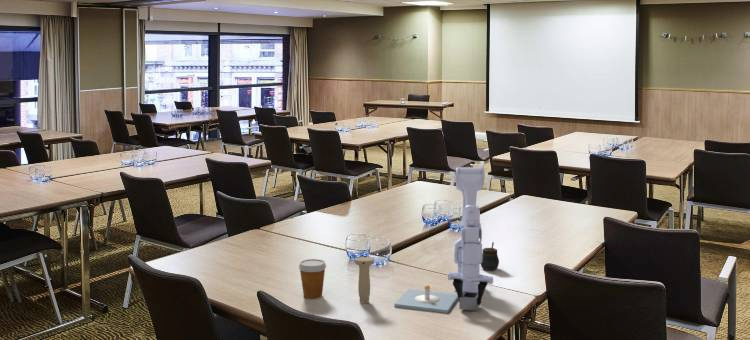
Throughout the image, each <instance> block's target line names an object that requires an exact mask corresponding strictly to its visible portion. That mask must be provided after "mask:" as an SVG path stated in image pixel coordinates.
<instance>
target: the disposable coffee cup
mask: <svg viewBox="0 0 750 340" xmlns="http://www.w3.org/2000/svg"><path fill="white" fill-rule="evenodd" d="M326 268H327V263H326V261H325V260H323V259H318V258H310V259H309V258H308V259H303V260H301V261H300V262H299V265H298V269H299V272H300V280H301V285H302V292H303V293H302V294H303V298H305V299H308V300H314V299H319V298H322V296H323V289H324V279H325V272H326V271H325V270H326Z"/></svg>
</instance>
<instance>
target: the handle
mask: <svg viewBox="0 0 750 340" xmlns="http://www.w3.org/2000/svg"><path fill="white" fill-rule="evenodd" d="M374 260H375V258H374V257H370V256H369V257H368V256H360V257H355V258H354V263H355V265H357V266H358V268H359V269H358V283H357V284H358V288H357V289H358V297H359V303H361V304H368V303H369V302H370V297H371V296H370V295H371V278H370V266H371V265H374V263H375V261H374Z"/></svg>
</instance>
